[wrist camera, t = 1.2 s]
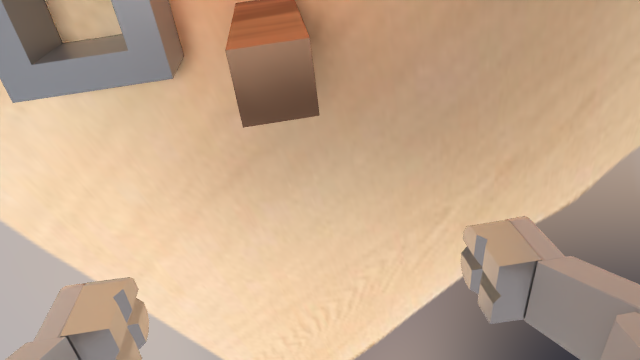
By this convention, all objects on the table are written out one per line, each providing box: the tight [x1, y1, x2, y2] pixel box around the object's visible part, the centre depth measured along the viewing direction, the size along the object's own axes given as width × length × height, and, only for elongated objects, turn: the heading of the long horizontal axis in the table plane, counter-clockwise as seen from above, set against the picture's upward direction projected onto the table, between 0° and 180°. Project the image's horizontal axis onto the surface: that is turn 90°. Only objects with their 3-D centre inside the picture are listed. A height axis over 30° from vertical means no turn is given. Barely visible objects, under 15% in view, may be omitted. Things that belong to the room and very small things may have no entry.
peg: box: [225, 0, 319, 127], centre depth 27 cm, size 4×4×12 cm
